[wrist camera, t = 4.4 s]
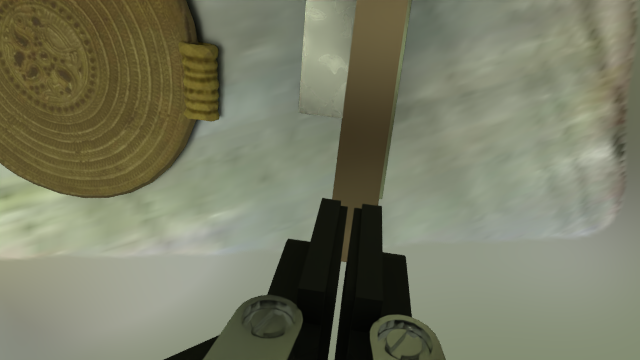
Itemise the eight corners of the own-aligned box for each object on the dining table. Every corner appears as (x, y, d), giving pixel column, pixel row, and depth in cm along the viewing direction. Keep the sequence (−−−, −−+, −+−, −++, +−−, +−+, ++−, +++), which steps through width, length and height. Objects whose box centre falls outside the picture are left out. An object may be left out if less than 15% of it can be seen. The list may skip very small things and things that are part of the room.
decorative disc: (-175, -146, 33) (190, -159, 28) (-127, -134, 36) (211, -144, 31) (-51, 191, 44) (222, 221, 40) (-22, 178, 47) (235, 205, 43)
